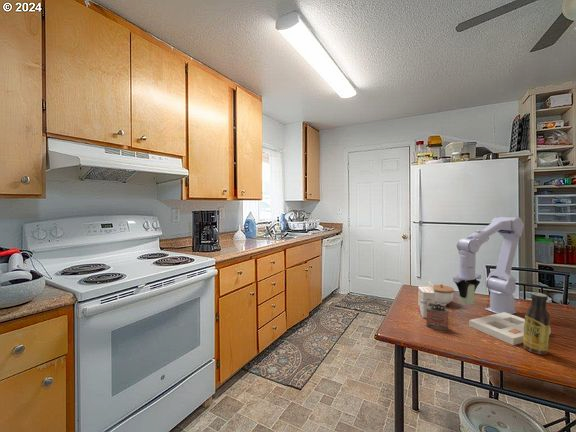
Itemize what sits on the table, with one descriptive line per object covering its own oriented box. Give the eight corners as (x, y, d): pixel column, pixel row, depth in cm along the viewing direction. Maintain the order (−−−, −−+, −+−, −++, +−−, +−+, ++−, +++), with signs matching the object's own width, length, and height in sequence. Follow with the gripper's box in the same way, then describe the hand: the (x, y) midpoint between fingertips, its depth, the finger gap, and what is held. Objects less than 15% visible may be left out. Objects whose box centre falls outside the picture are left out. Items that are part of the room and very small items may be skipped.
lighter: (447, 326, 109) (447, 302, 109) (449, 330, 106) (449, 305, 105) (425, 324, 112) (425, 300, 111) (426, 327, 108) (427, 303, 108)
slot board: (504, 317, 117) (504, 311, 117) (550, 334, 102) (550, 327, 102) (469, 326, 109) (469, 319, 109) (513, 345, 94) (513, 337, 94)
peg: (465, 299, 120) (465, 282, 119) (474, 303, 116) (474, 284, 116) (458, 301, 118) (459, 283, 118) (467, 304, 115) (468, 286, 114)
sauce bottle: (518, 346, 94) (519, 290, 93) (534, 345, 94) (536, 290, 93) (536, 357, 87) (539, 297, 86) (554, 355, 88) (556, 296, 87)
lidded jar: (458, 306, 130) (458, 287, 129) (436, 306, 130) (436, 287, 129) (445, 298, 140) (446, 281, 140) (425, 299, 141) (425, 281, 140)
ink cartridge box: (417, 310, 126) (417, 279, 125) (428, 311, 125) (429, 280, 124) (422, 318, 117) (423, 285, 117) (435, 319, 116) (435, 285, 116)
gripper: (470, 262, 123) (469, 291, 123) (446, 265, 118) (446, 295, 118) (486, 266, 116) (485, 296, 117) (462, 269, 111) (461, 301, 112)
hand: (466, 296), depth 117 cm, fingers closed on peg, 4 cm apart
